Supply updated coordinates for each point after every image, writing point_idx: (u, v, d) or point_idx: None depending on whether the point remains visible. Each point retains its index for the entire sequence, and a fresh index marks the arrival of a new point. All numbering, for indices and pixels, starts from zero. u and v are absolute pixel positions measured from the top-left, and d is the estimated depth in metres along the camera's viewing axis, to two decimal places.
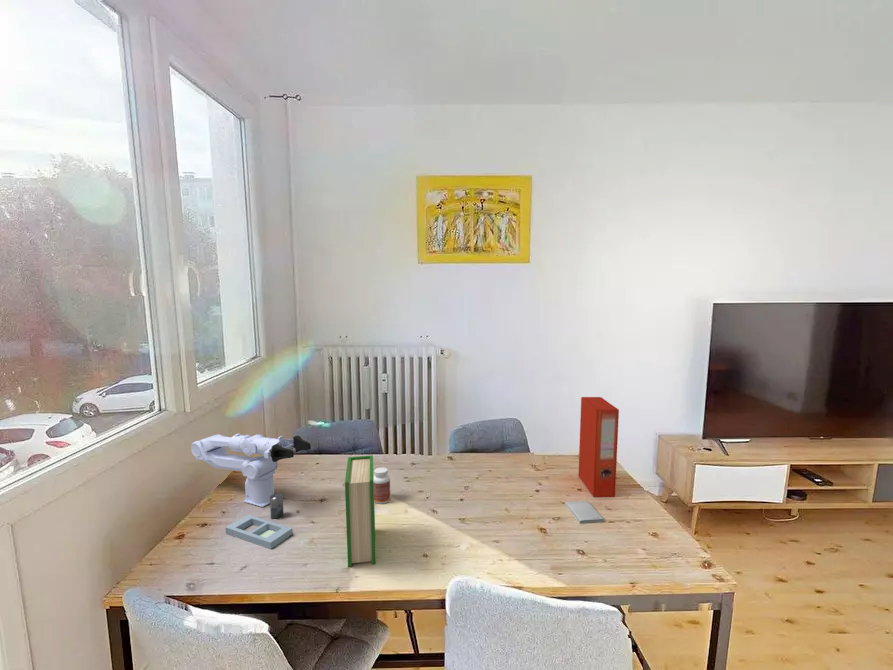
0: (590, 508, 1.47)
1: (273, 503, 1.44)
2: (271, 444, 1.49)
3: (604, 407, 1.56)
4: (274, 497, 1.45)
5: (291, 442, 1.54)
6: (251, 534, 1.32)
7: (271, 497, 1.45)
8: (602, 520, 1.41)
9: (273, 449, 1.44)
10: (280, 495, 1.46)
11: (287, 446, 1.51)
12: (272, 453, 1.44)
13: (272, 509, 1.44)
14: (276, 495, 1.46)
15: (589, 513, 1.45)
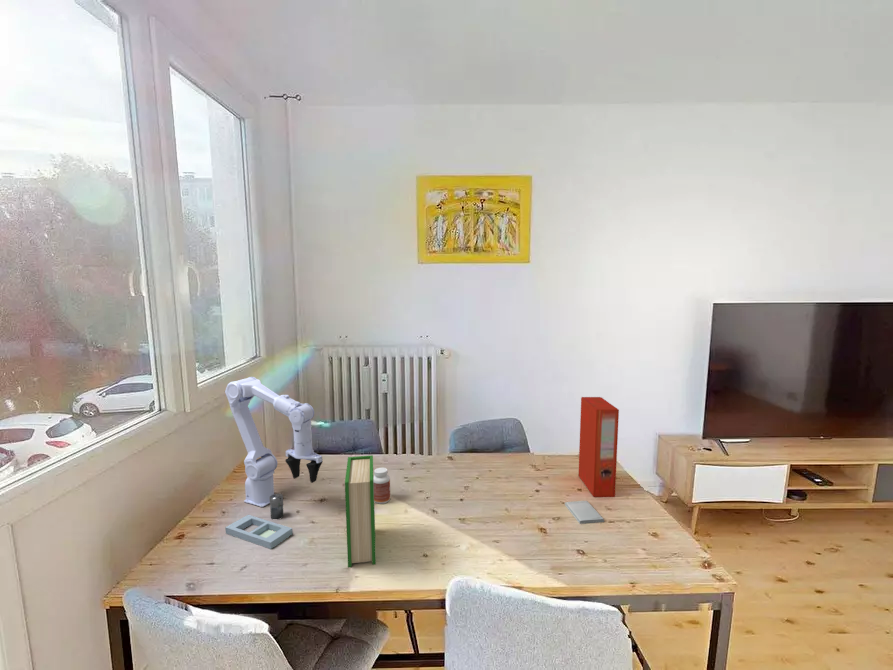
0: (590, 508, 1.47)
1: (273, 503, 1.44)
2: None
3: (604, 407, 1.56)
4: (274, 497, 1.45)
5: None
6: (251, 534, 1.32)
7: (271, 497, 1.45)
8: (602, 520, 1.41)
9: (320, 463, 1.48)
10: (280, 495, 1.46)
11: None
12: (318, 463, 1.47)
13: (272, 509, 1.44)
14: (276, 495, 1.46)
15: (589, 513, 1.45)
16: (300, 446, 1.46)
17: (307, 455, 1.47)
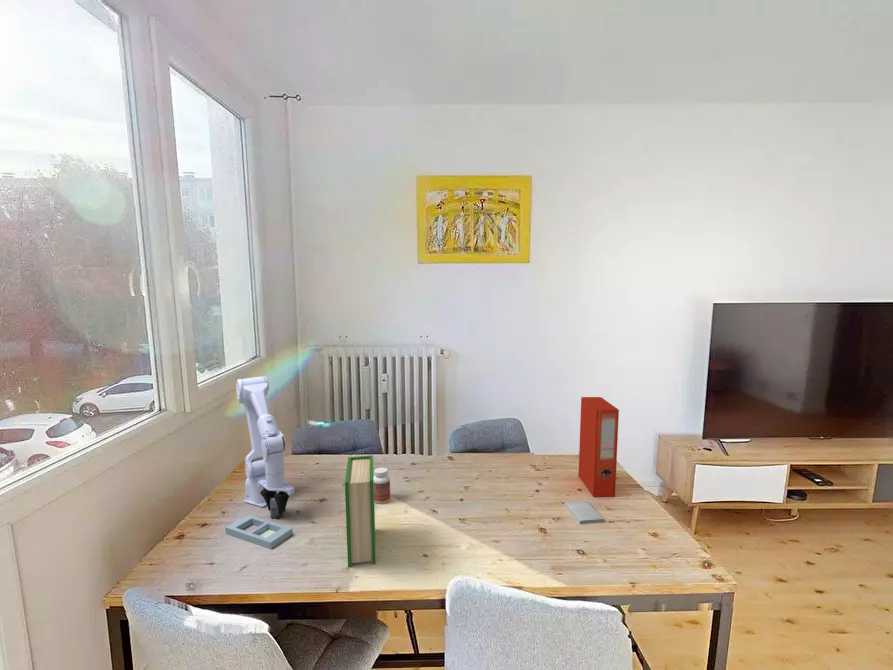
0: (590, 508, 1.47)
1: (273, 503, 1.44)
2: None
3: (604, 407, 1.56)
4: (274, 497, 1.45)
5: None
6: (251, 534, 1.32)
7: (271, 497, 1.45)
8: (602, 520, 1.41)
9: None
10: None
11: None
12: (286, 494, 1.44)
13: (272, 509, 1.44)
14: None
15: (589, 513, 1.45)
16: (271, 477, 1.42)
17: (279, 487, 1.43)
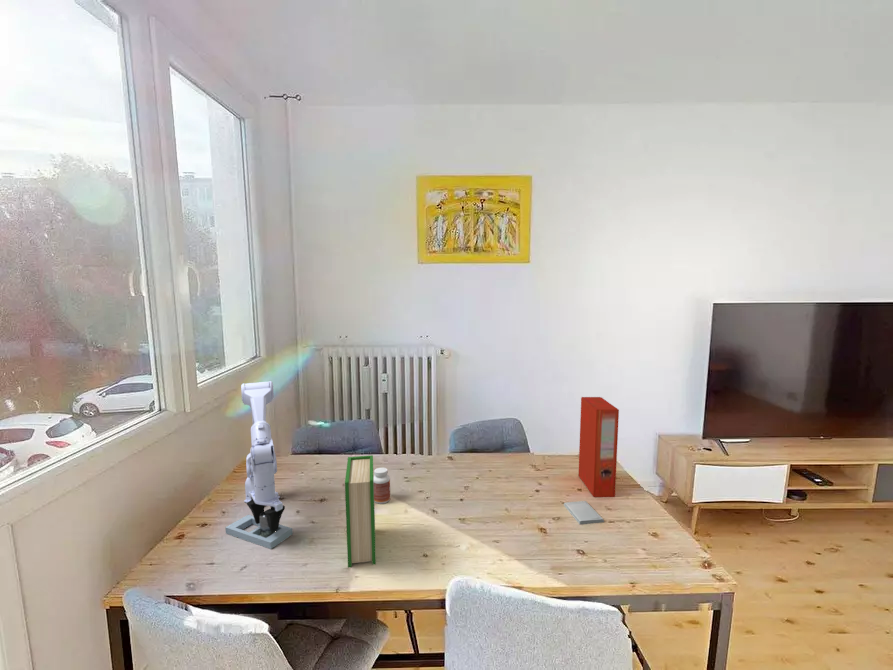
0: (589, 509, 1.47)
1: (262, 522, 1.32)
2: (274, 490, 1.33)
3: (604, 407, 1.56)
4: (264, 515, 1.33)
5: None
6: (251, 534, 1.32)
7: (261, 515, 1.33)
8: (602, 520, 1.41)
9: (282, 510, 1.31)
10: None
11: None
12: (278, 510, 1.30)
13: (261, 528, 1.32)
14: None
15: (589, 513, 1.44)
16: (259, 490, 1.30)
17: (267, 500, 1.31)
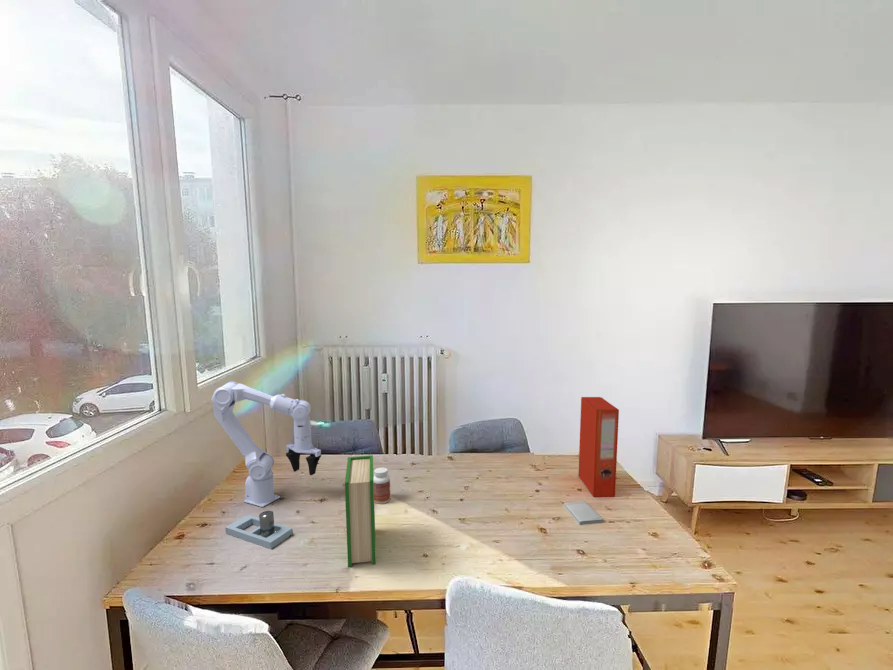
0: (589, 509, 1.47)
1: (262, 522, 1.32)
2: None
3: (604, 407, 1.56)
4: (264, 515, 1.33)
5: None
6: (251, 534, 1.32)
7: (261, 515, 1.33)
8: (601, 520, 1.41)
9: (319, 456, 1.56)
10: (271, 513, 1.34)
11: None
12: (317, 456, 1.55)
13: (261, 529, 1.32)
14: (266, 513, 1.34)
15: (588, 513, 1.44)
16: (300, 440, 1.54)
17: (306, 449, 1.55)
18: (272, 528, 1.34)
